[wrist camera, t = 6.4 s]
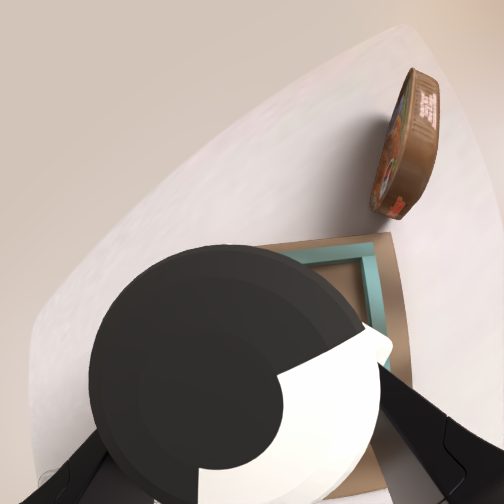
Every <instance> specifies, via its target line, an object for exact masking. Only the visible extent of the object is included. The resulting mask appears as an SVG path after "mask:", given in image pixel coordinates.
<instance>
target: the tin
mask: <svg viewBox="0 0 504 504" xmlns="http://www.w3.org/2000/svg"><path fill="white" fill-rule="evenodd" d="M439 120H440V93H439V84H438V82H437V81H436V80H435V79H433V78H431V77H430V76H428V75H426V74H423V73H421V72H419V71H417V70H415V68H411V69H410V70H409V72H408V74H407V76H406V79H405V81H404V83H403V86H402V88H401V91H400V94H399V97H398V100H397V103H396V106H395V108H394V111H393V114H392V117H391V121H390V124H389V129H388V132H387V136H386V140H385V144H384V148H383V153H382V156H381V160H380V164H379V168H378V171H377V175H376V179H375V182H374V186H373V190H372V194H371V199H370V210H371V211H377V212H379V213H381V214H383V215H386V216H388V217H390V218H392V219H395V220H401V219H402V218H403V217H404V216H405V215H406V214H407V213H408V211H409V210H410V209H411V208H412V206H413V205H414V204H415V203H416V202H417V201H418V200H419V199H420V197H421V196H422V194H423V192H424V190H425V188H426V186H427V183H428V181H429V179H430V176H431V173H432V170H433V167H434V164H435V160H436V155H437V150H438V140H439Z"/></svg>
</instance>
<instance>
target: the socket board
mask: <svg viewBox="0 0 504 504" xmlns="http://www.w3.org/2000/svg"><path fill="white" fill-rule="evenodd" d="M253 247H258V248H263V249H268V250H271V251H274V252H277V253H280V254H282V255H285V256H288V257H290V258H292V259H294V260H296V261H298V262H300V263H302V264H304V265H306V266H308V267H309V268H311V269H312V270H314V271H315V272H316V273H318V274H319V275H321V276H322V277H324V278H325V279H326V280H327V281H328V282H329V283H331V284H332V285H333V286H334V287H335V288H336V289H337V290H338V291H339V292H340V293H341V294H342V295H343V296H344V298H345V299H346V300H347V301H348V302H349V304H350V305H351V306H352V307H353V309H354V310H355V311H356V313H357V315H358V316H359V318H360V320H361V322H363V323H364V324H366V325H368V326H369V327H371V328H373V329H374V330H376V331H378V332H379V333H381V334H383V335H384V336H386V337H388V338H389V339H390V340H391V341H392V345H393V348H392V351H391V353H390V355H389V357H388V358H387V360H386V362H385V364H384V365H383V366H384V367H385V368H386V369H388V370H389V371H390V372H391V373H393V374H394V375H395V376H397V377H398V378H399V379H401V380H402V381H403V382H404V383H406V384H407V385H408V386H410V387H411V388H412V370H411V356H410V345H409V335H408V327H407V319H406V311H405V304H404V298H403V292H402V286H401V280H400V274H399V269H398V264H397V259H396V254H395V249H394V245H393V240H392V236H391V232H385V233H375V234H365V235H356V236H346V237H337V238H327V239H318V240H308V241H299V242H290V243H280V244H271V245H262V246H253ZM412 389H413V388H412ZM385 488H387V485H386V482H385V480H384V477H383V474H382V472H381V469H380V467H379V464H378V462H377V459H376V456H375V454H374V451H373V449H372V446H371V444H370V442H369V444H368V446H367V448H366V450H365V453H364V454H363V456H362V457H361V459H360V461H359V462H358V464H357V465H356V467H355V468H354V470H353V471H352V472H351V473H350V474H349V475H348V477H347V478H346V479H345V480H344V481H343V482H342V483H341V484H340V485H339V486H338V487H337V488H336V489H335V490H333V491H332V492H331V493H330V494H329V495H327V496H326V497H325V498H323V499H322V500H326V499H334V498H340V497H346V496H352V495H357V494H362V493H367V492H372V491H376V490H380V489H385Z"/></svg>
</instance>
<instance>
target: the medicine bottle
mask: <svg viewBox="0 0 504 504" xmlns="http://www.w3.org/2000/svg"><path fill="white" fill-rule="evenodd" d="M392 348H393V345H392V341H391V340H390V339H389V338H388V337H386V336H384V335H383V334H381V333H379V332H378V331H376V330H374V329H373V328H371V327H369V326H368V325H366V324H364V323H363V322H361V320H360V318H359V316H358V315H357V313H356V311H355V310H354V309H353V307H352V306H351V305H350V304H349V302H348V301H347V300H346V299H345V298H344V296H343V295H342V294H341V293H340V292H339V291H338V290H337V289H336V288H335V287H334V286H333V285H332V284H331V283H329V282H328V281H327V280H326V279H325V278H324V277H322V276H321V275H319V274H318V273H316V272H315V271H314V270H312V269H311V268H309V267H308V266H306V265H304V264H302V263H300V262H298V261H296V260H294V259H292V258H290V257H288V256H285V255H282V254H280V253H277V252H274V251H271V250H268V249H263V248H258V247H252V246H247V245H233V244H230V243H226V244H223V245H211V246H203V247H199V248H194V249H190V250H186V251H183V252H180V253H178V254H175V255H172V256H170V257H167V258H166V259H164V260H162V261H160V262H158V263H156V264H154V265H152V266H151V267H149V268H148V269H147V270H145V271H144V272H143V273H141V274H140V275H138V276H137V277H136V278H135V279H134V280H133V281H132V282H131V283H130V284H129V285H128V286H126V287H125V288H124V289H123V291H122V292H121V293H120V294H119V296H118V297H117V298H116V299H115V301H114V302H113V303H112V305H111V307H110V308H109V310H108V312H107V313H106V315H105V317H104V318H103V320H102V323H101V325H100V327H99V330H98V332H97V334H96V338H95V341H94V345H93V349H92V352H91V358H90V365H89V397H90V404H91V409H92V413H93V417H94V421H95V424H96V427H97V429H98V432H99V434H100V437H101V439H102V441H103V443H104V445H105V447H106V448H107V450H108V452H109V454H110V455H111V457H112V458H113V460H114V461H115V462H116V464H117V465H118V466H119V468H120V469H121V470H122V471H123V472H124V474H125V475H126V476H127V477H128V478H129V479H130V480H131V481H132V482H133V483H134V484H135V485H136V486H138V487H139V488H140V489H141V490H143V491H144V492H145V493H146V494H148V495H149V496H150V497H152V498H153V499H155V500H157V501H158V502H160V503H162V504H315V503H317V502H319V501H320V500H322V499H323V498H325V497H326V496H327V495H329V494H330V493H331V492H332V491H333V490H335V489H336V488H337V487H338V486H339V485H340V484H341V483H342V482H343V481H344V480H345V479H346V478H347V477H348V475H349V474H350V473H351V472H352V471H353V470H354V468H355V467H356V465H357V464H358V462H359V461H360V459H361V457H362V456H363V454H364V453H365V450H366V448H367V446H368V444H369V442H370V439H371V437H372V435H373V432H374V428H375V424H376V420H377V416H378V411H379V401H380V379H379V369H378V364H377V362H378V363H380V364H381V365H382V366H383V365H384V364H385V362H386V360H387V358H388V357H389V355H390V353H391V351H392Z"/></svg>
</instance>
